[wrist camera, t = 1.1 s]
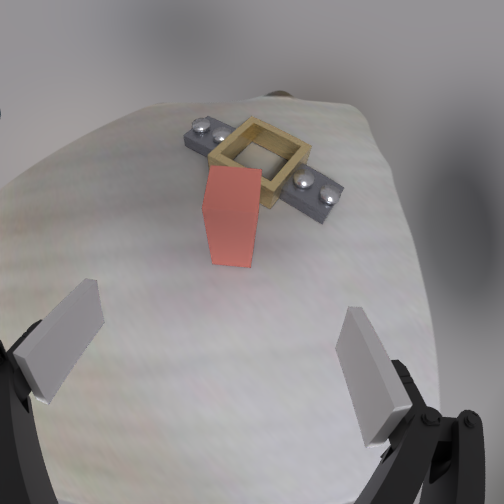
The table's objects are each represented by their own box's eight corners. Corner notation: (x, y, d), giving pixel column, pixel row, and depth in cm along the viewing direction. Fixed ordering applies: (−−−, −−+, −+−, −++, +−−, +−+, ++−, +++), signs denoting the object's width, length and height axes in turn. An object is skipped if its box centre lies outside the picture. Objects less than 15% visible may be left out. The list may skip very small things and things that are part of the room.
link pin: (212, 264, 30) (201, 207, 20) (217, 230, 32) (210, 165, 21) (250, 267, 30) (258, 212, 20) (253, 233, 32) (261, 169, 22)
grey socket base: (174, 154, 36) (170, 135, 33) (216, 118, 39) (215, 100, 36) (315, 237, 32) (324, 222, 29) (346, 187, 35) (355, 171, 32)
